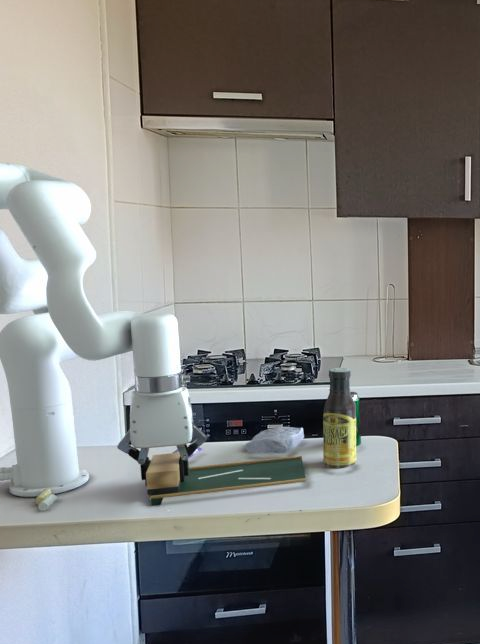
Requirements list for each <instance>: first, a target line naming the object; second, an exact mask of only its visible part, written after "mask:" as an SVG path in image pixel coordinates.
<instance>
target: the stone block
mask: <svg viewBox="0 0 480 644" xmlns="http://www.w3.org/2000/svg"><path fill="white" fill-rule="evenodd" d="M303 439H305V434H304V428H303V427H293V426H291V427H290V426H275V427H273V428H268V429H265V430H261V431H259V433H257V434H256V435H254V436H253V437H252V439H251V440H250V441H249V442H246V445H245V449H246V450H245V451H246V452H247V453H253V454H254V453H255V454H261V453H262V454H266V453H267V454H268V453H270V454H271V453H273V454H275V453H276V454H286V453H287V454H288V453H290V452H291V450H293V449H294V448H295V447H296V446H297V445H298V444H299V443H300V442H301V441H302V440H303Z"/></svg>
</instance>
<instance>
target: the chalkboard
mask: <svg viewBox="0 0 480 644" xmlns="http://www.w3.org/2000/svg"><path fill="white" fill-rule="evenodd" d="M307 481H308V479H307V476H306V472H305V466H304V462H303V456H302V455H295V456H286V457H285V456H284V457H276V458H275V457H274V458H267V459H265V458H264V459H258V460H247V461H238V462H228V463H218V464H208V465H199V466H189V475H188V476H185V481H184V482H181V484H180V488H179V492H173V493H164V494H155V495H150V497H149V499H150V506H158V505H159V506H160V505H162V503H163V500H164V498H165V499H166V498H173V497H181V496H190V495H198V494H199V495H201V494H207V493H217V492H225V491H235V490H243V489H250V488H259V487H269V486H278V485H286V484H294V483H303V482H307Z"/></svg>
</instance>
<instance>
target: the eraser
mask: <svg viewBox="0 0 480 644" xmlns="http://www.w3.org/2000/svg"><path fill="white" fill-rule="evenodd" d="M179 459H180V454H179V453H173V452H171V453H161V454H153V455H152V457H151V459H150V460H151V462H150V464H149V467H148V469H147V472H146V483H147V486H146V495H147V496H152V495H155V494H164V493H173V492H179V488H180V484H181V482H180V472H179Z"/></svg>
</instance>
